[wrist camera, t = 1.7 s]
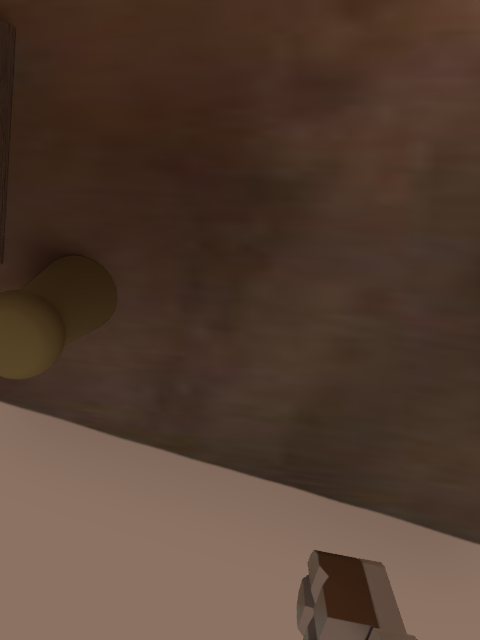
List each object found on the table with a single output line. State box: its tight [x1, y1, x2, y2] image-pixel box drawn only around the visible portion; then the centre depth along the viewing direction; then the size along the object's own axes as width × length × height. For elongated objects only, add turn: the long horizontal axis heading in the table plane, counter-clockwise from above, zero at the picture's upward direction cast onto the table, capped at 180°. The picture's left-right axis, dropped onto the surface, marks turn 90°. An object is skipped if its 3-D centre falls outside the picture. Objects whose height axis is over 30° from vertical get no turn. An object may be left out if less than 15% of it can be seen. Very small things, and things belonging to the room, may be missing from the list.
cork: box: [0, 256, 117, 379], centre depth 30 cm, size 6×6×11 cm
